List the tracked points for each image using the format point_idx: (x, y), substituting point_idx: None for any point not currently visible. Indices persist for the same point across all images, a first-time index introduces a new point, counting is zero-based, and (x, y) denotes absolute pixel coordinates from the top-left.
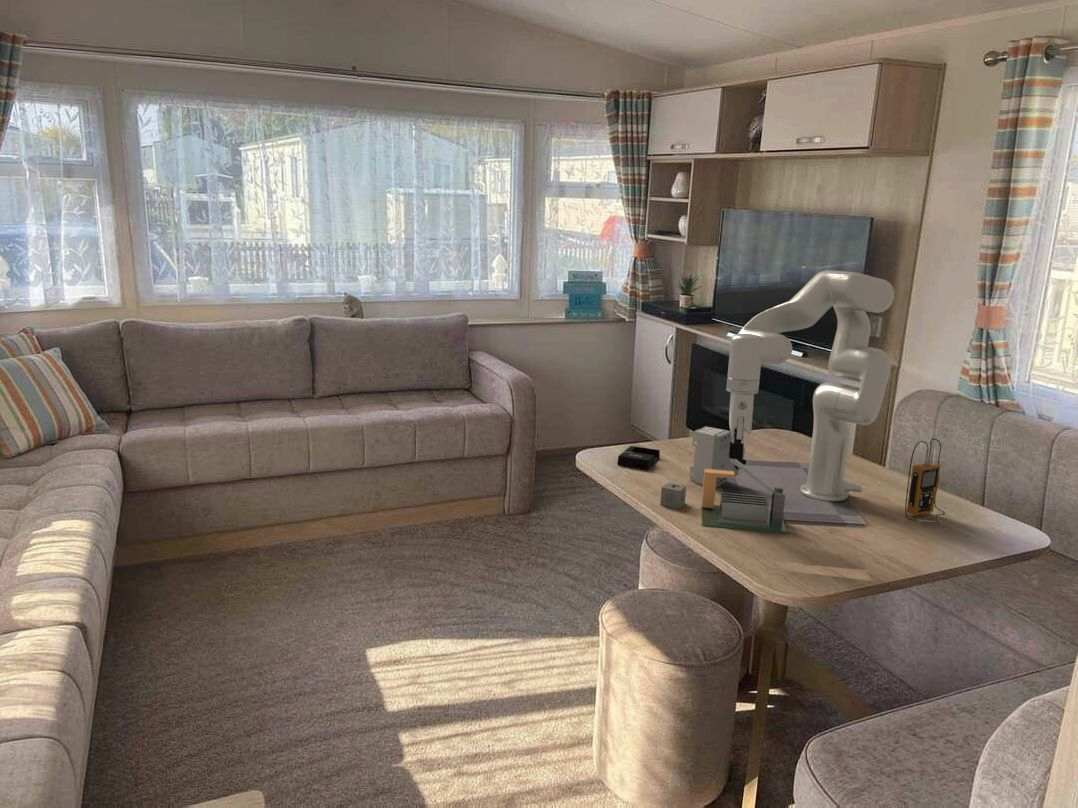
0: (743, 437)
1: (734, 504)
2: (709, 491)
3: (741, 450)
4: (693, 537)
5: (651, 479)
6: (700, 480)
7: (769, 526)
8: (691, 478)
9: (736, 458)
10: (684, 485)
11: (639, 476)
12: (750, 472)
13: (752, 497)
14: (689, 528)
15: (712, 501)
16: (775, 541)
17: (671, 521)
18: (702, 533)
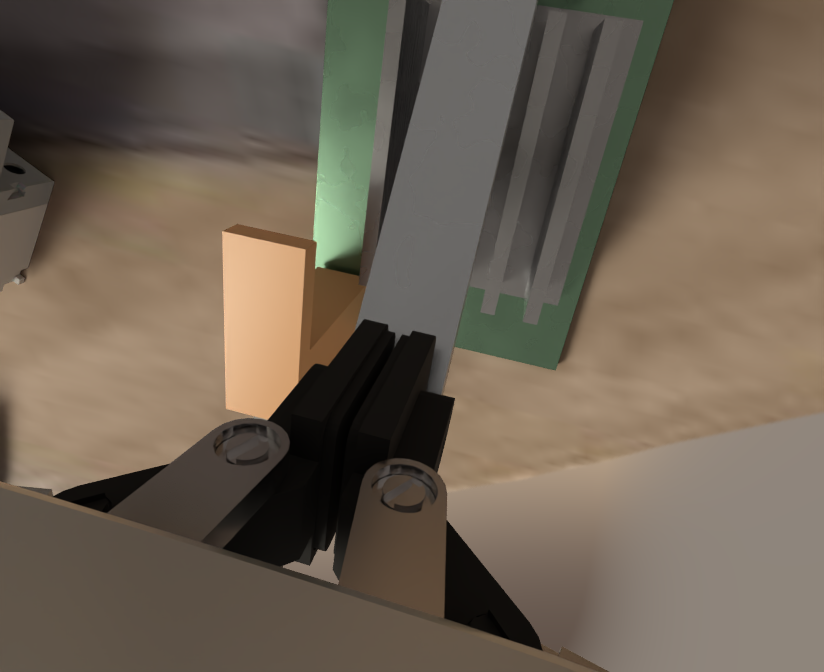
0: (442, 588)
1: (555, 259)
2: (342, 338)
3: (410, 401)
4: (696, 434)
5: (64, 418)
6: (20, 247)
7: (611, 14)
8: (7, 279)
9: (426, 388)
10: (254, 416)
11: (51, 449)
12: (484, 200)
13: (396, 93)
14: (589, 422)
15: (360, 298)
16: (820, 25)
17: (509, 465)
18: (652, 387)
